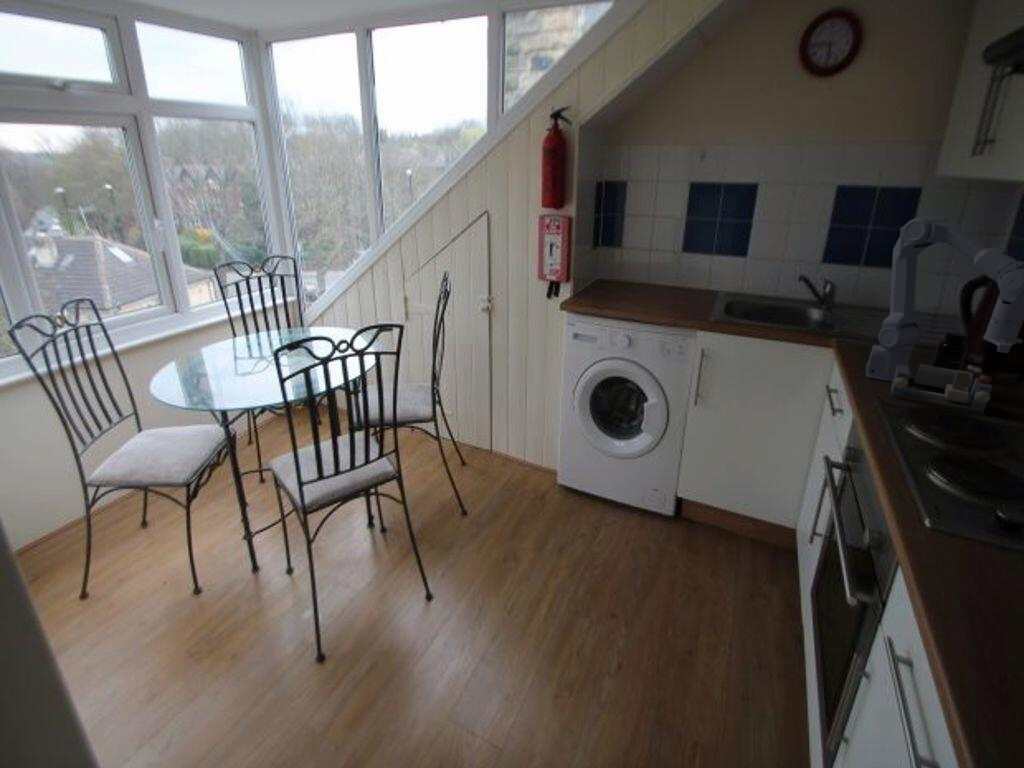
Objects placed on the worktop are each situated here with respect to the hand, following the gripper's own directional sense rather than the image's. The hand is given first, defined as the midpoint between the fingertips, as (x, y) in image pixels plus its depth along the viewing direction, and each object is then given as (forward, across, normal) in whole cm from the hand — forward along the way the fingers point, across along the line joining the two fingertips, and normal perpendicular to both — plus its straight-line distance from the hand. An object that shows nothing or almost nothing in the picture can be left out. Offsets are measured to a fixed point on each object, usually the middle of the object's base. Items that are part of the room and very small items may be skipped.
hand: (987, 372), depth 133 cm
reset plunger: (+2, 0, 0) cm, 2 cm away
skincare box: (+7, +13, 0) cm, 15 cm away
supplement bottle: (+10, +27, +4) cm, 29 cm away
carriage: (+8, 0, +4) cm, 9 cm away
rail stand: (+9, 0, +8) cm, 13 cm away
